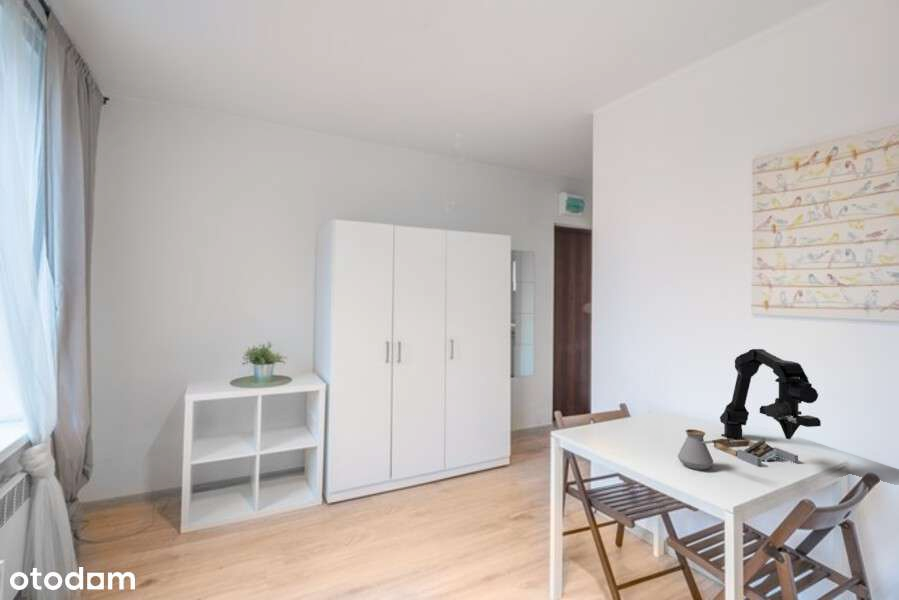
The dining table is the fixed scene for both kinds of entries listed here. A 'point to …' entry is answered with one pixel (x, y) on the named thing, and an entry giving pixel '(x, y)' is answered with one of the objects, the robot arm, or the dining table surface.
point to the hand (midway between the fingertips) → (788, 438)
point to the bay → (757, 460)
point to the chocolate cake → (762, 451)
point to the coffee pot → (697, 450)
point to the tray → (726, 445)
